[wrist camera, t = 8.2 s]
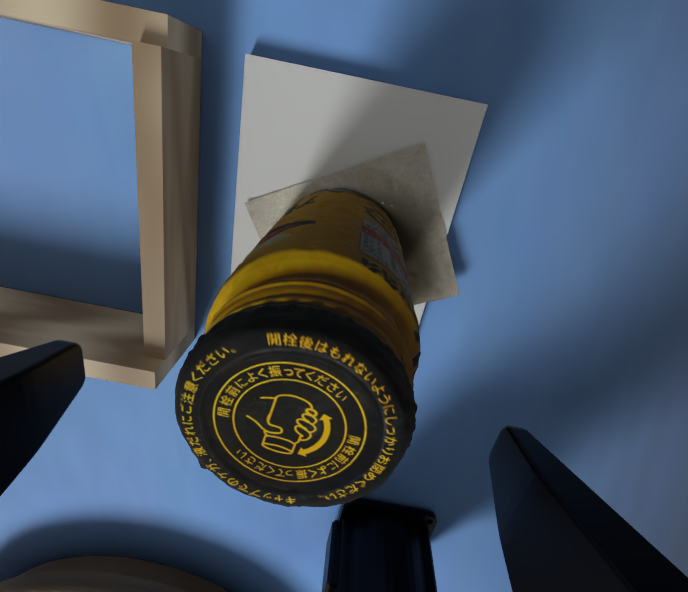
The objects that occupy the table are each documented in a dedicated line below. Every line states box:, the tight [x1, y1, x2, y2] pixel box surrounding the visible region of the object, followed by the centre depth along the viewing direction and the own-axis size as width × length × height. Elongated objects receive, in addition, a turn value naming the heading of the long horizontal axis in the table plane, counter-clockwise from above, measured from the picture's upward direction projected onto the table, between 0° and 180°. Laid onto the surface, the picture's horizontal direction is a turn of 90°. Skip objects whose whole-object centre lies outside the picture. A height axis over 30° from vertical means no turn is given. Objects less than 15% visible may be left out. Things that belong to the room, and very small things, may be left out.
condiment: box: [175, 143, 459, 507], centre depth 13 cm, size 7×8×12 cm
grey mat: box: [231, 54, 488, 324], centre depth 19 cm, size 10×14×1 cm
